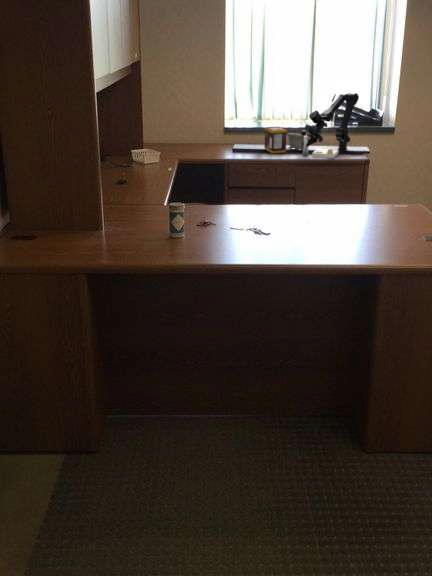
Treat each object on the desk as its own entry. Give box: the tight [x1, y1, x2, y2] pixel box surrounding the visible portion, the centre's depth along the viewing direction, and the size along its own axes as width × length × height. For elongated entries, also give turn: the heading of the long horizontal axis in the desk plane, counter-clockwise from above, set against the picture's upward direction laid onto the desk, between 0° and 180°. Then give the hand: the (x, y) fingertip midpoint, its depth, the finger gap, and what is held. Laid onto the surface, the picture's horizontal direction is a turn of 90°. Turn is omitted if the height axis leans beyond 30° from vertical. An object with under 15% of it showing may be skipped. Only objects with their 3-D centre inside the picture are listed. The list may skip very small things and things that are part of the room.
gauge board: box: [311, 148, 339, 159], centre depth 431 cm, size 16×14×5 cm
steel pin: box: [302, 136, 310, 157], centre depth 429 cm, size 4×4×13 cm
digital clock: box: [287, 132, 310, 150], centre depth 450 cm, size 16×9×11 cm, turn 39°
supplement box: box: [264, 126, 288, 154], centre depth 442 cm, size 10×15×16 cm
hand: (304, 145), depth 428 cm, fingers closed on steel pin, 4 cm apart
